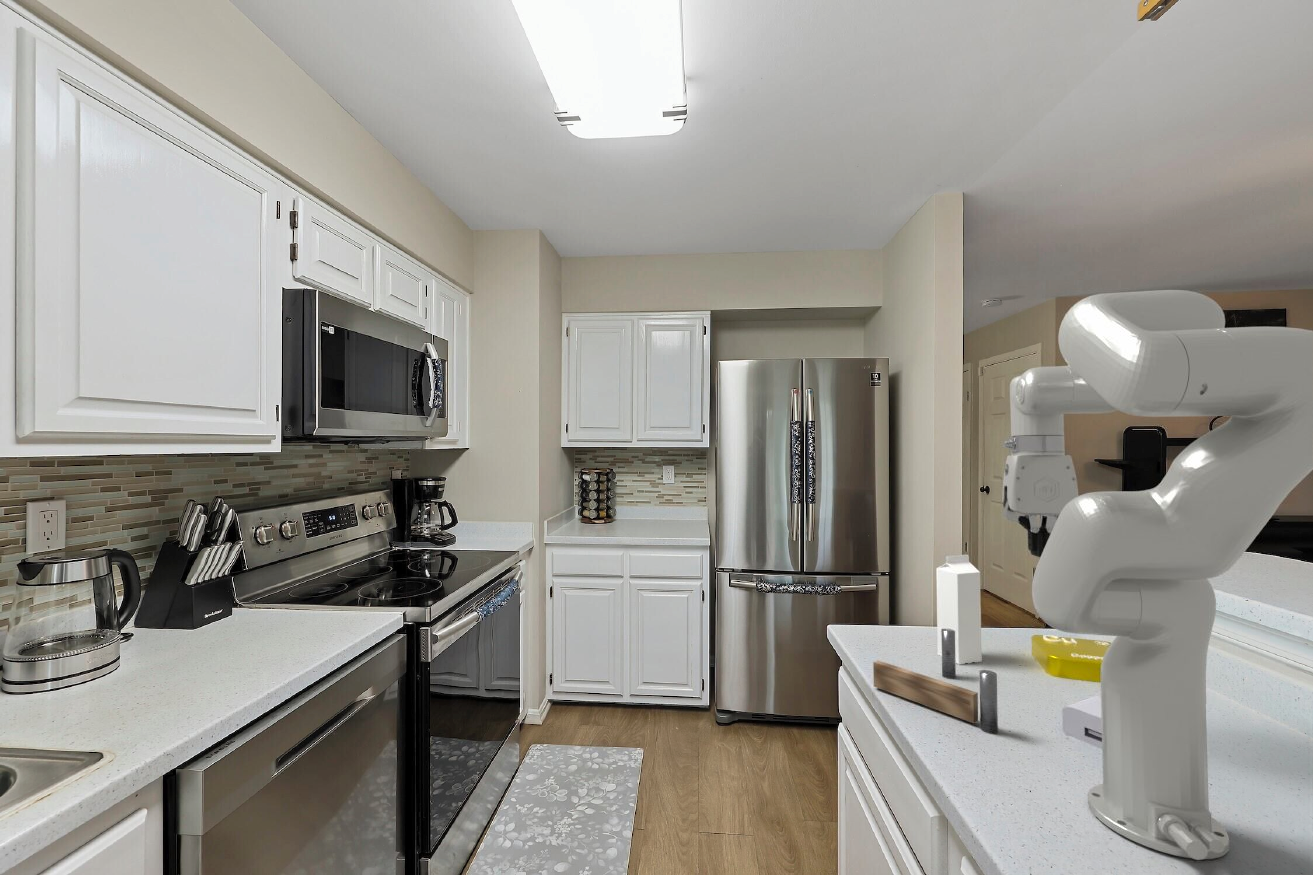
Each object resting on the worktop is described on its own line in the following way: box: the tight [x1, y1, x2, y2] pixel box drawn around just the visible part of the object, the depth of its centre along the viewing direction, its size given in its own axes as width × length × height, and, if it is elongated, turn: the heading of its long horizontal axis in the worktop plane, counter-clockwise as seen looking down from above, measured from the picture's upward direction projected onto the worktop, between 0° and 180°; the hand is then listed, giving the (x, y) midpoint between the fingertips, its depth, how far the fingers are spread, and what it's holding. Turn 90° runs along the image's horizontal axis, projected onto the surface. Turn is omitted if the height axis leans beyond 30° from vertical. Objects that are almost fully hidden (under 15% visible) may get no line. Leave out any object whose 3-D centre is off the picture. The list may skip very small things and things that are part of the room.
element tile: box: [1031, 634, 1112, 683], centre depth 116 cm, size 15×15×5 cm
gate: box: [872, 659, 979, 724], centre depth 99 cm, size 18×2×4 cm, turn 36°
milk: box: [935, 554, 983, 666], centre depth 122 cm, size 6×6×22 cm
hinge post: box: [979, 669, 999, 734], centre depth 91 cm, size 2×2×9 cm
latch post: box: [941, 629, 957, 680], centre depth 112 cm, size 2×2×9 cm
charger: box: [1061, 695, 1102, 750], centre depth 89 cm, size 5×9×15 cm
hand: (1040, 555), depth 96 cm, fingers closed
